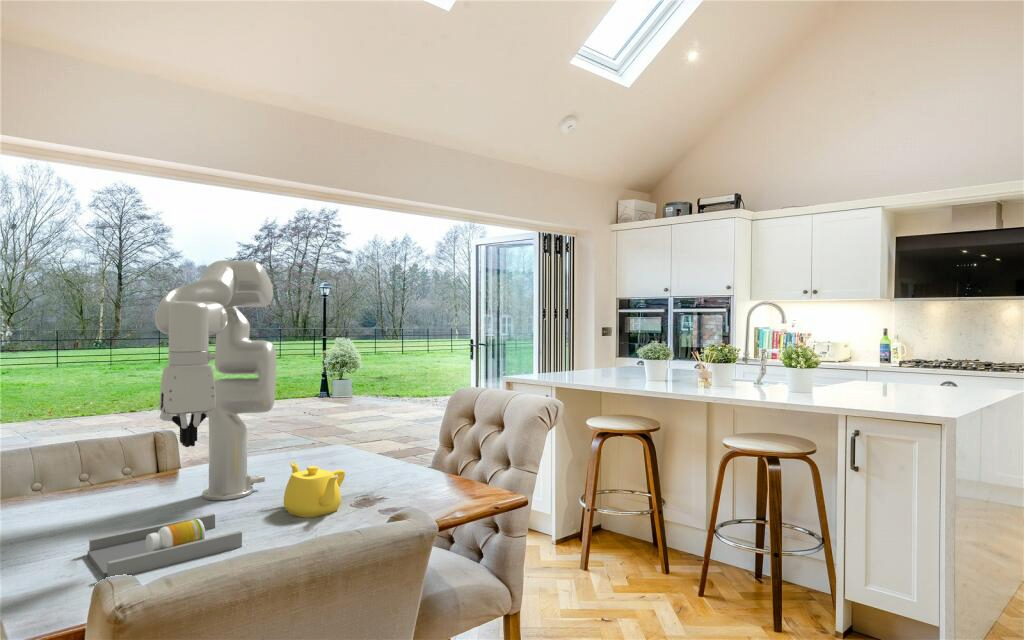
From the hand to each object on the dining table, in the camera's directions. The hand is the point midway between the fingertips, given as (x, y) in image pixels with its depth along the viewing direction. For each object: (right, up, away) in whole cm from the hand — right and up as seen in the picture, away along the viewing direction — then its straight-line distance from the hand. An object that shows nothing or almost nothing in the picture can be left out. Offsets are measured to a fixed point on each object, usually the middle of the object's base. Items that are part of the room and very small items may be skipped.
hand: (188, 445), depth 131 cm
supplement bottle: (+4, -17, -2) cm, 18 cm away
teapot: (+19, -22, +26) cm, 39 cm away
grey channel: (-3, -21, -3) cm, 22 cm away
